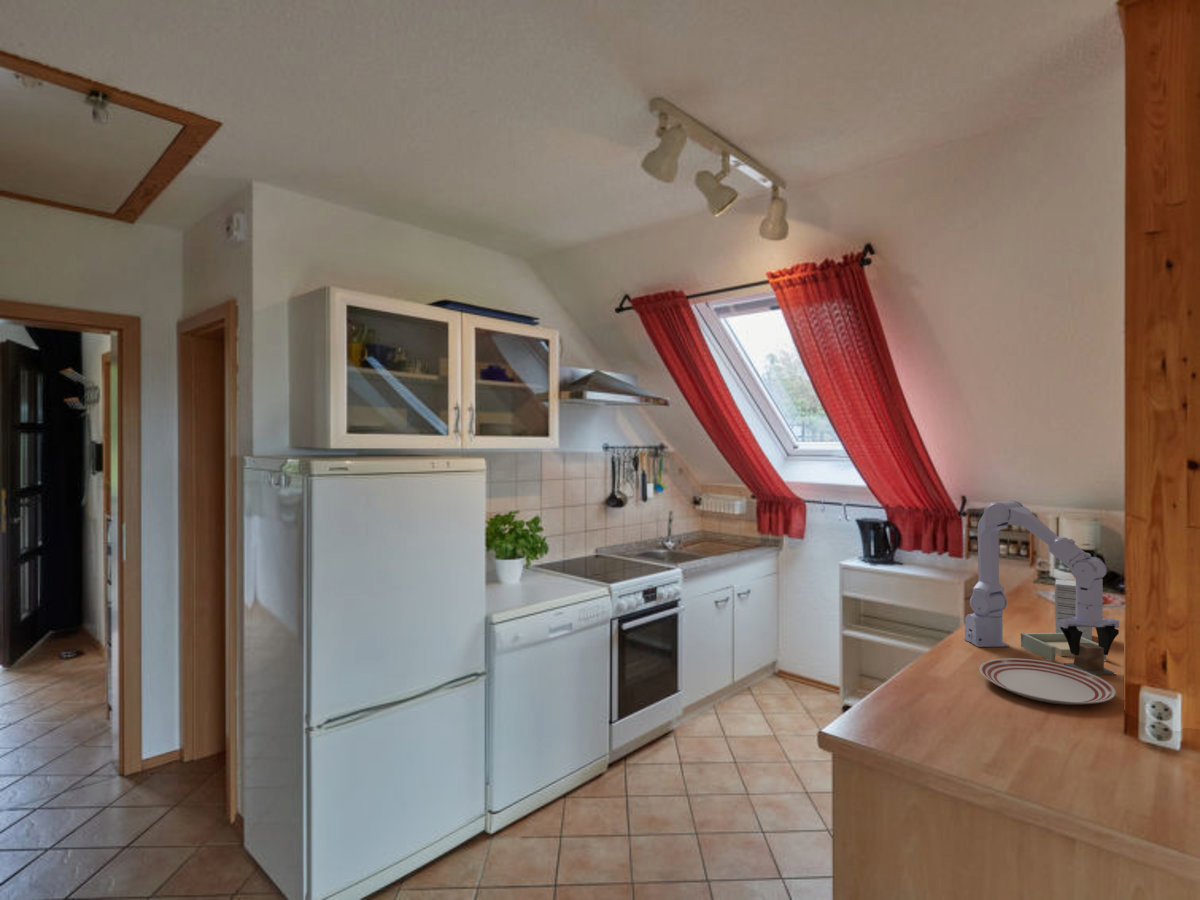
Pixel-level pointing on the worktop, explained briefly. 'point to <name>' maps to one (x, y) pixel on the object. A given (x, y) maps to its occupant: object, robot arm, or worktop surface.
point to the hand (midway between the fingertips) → (1089, 654)
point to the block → (1090, 657)
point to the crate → (1049, 644)
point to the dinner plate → (1047, 681)
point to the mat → (1090, 671)
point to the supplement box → (1067, 605)
